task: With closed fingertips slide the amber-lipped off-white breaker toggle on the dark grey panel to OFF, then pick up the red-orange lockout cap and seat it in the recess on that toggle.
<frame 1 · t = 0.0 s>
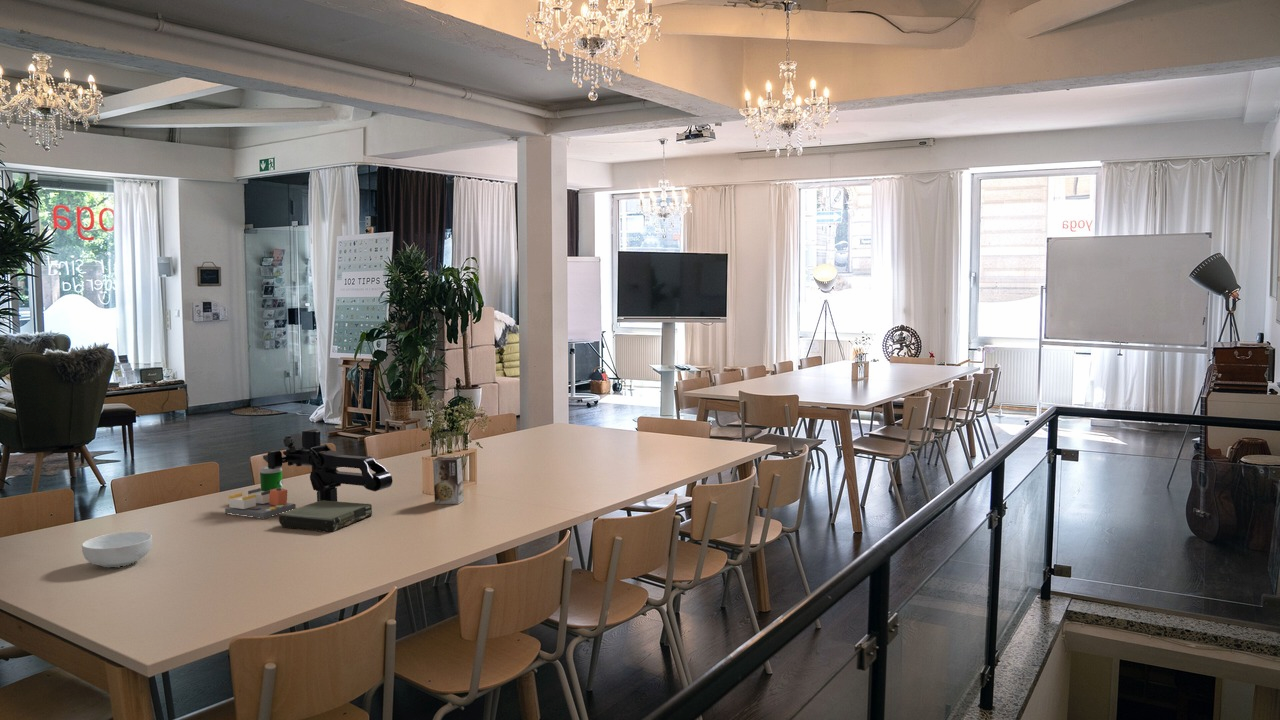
hand: (273, 454, 320), 17 cm above the table, tool horizontal, fingers open, 9 cm apart
coffee box: (449, 502, 313), on the table
cereal bowl: (118, 564, 245), on the table
breaker 1: (242, 500, 300), point 4 cm above the table, slide at 0.0 cm
breaker 2: (261, 495, 308), point 4 cm above the table, slide at 0.0 cm
soda can: (272, 499, 322), on the table
network switch: (326, 523, 288), on the table
lockout cap: (278, 503, 305), point 2 cm above the table, tilted 7°, touching panel
panel: (260, 511, 303), on the table
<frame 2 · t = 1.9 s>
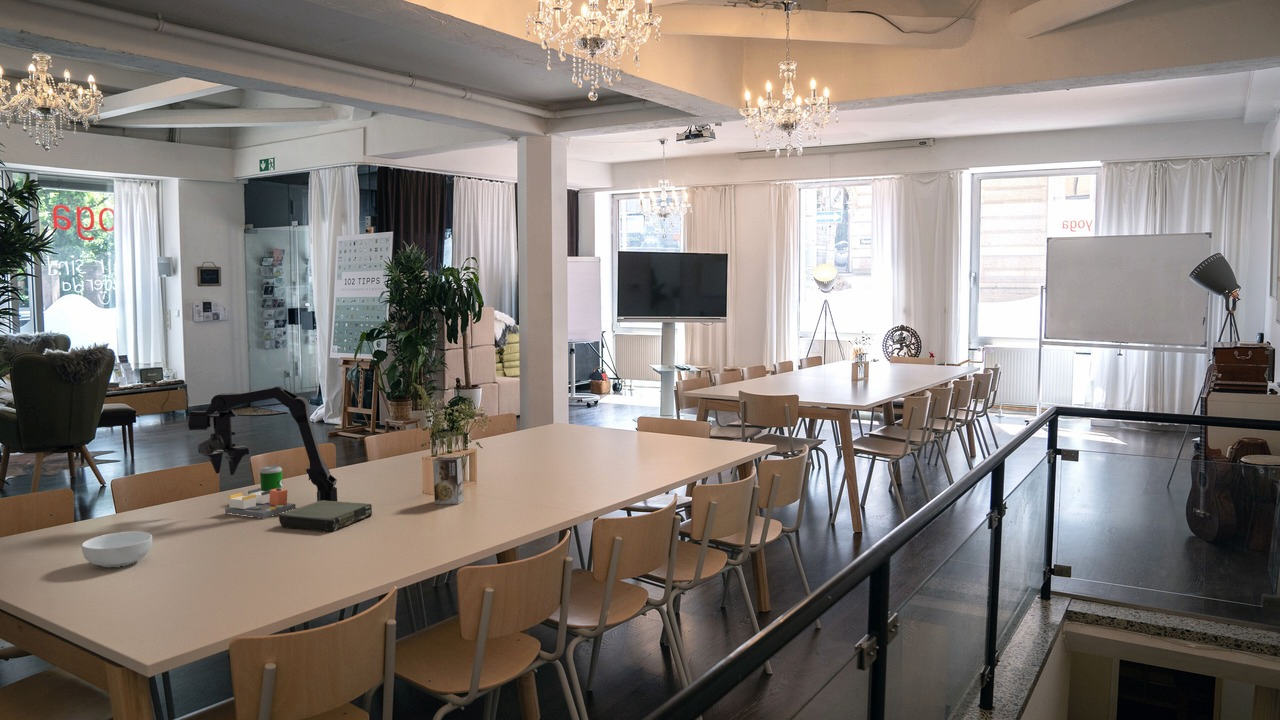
hand: (224, 474, 303), 13 cm above the table, tool pointing down, fingers open, 7 cm apart
nothing on the table moved.
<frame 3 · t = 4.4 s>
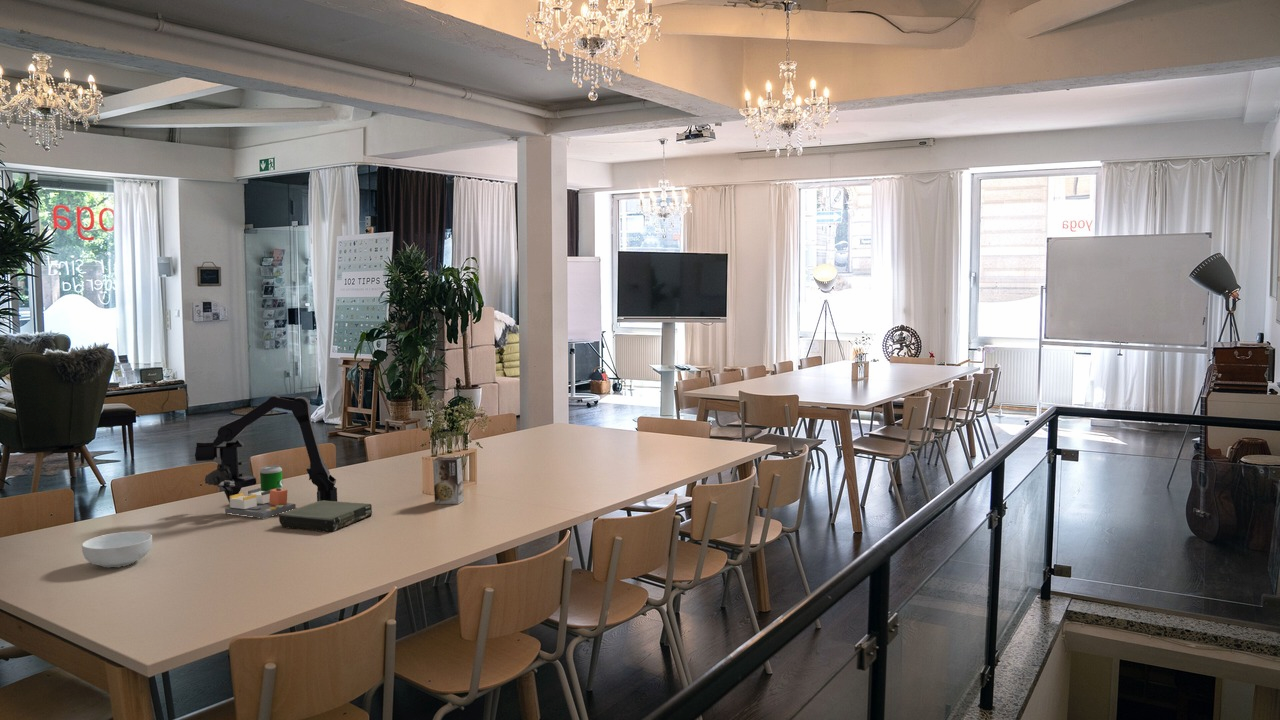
hand: (231, 504, 303), 3 cm above the table, tool pointing down, fingers closed
breaker 1: (243, 500, 300), point 4 cm above the table, slide at 0.4 cm, touching gripper
everything else where it was.
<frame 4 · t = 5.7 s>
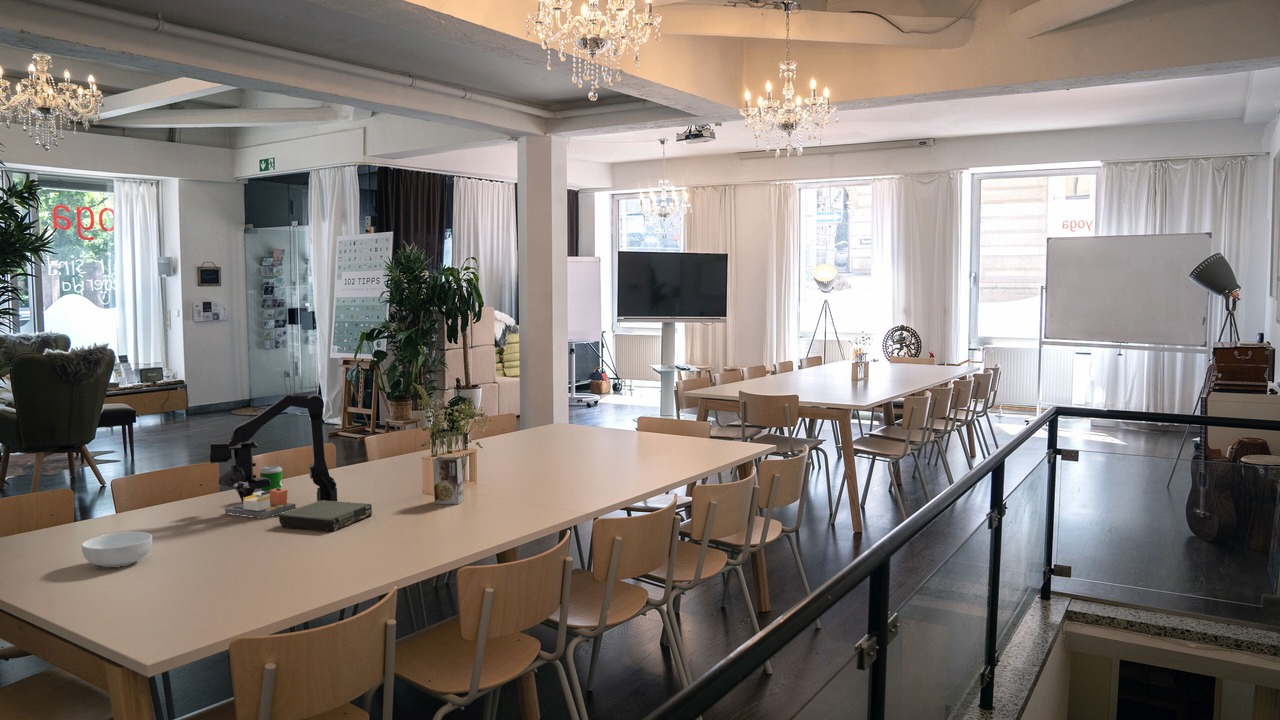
hand: (245, 505, 300), 3 cm above the table, tool pointing down, fingers closed
breaker 1: (256, 502, 298), point 4 cm above the table, slide at 6.8 cm, touching gripper, panel
everything else where it was.
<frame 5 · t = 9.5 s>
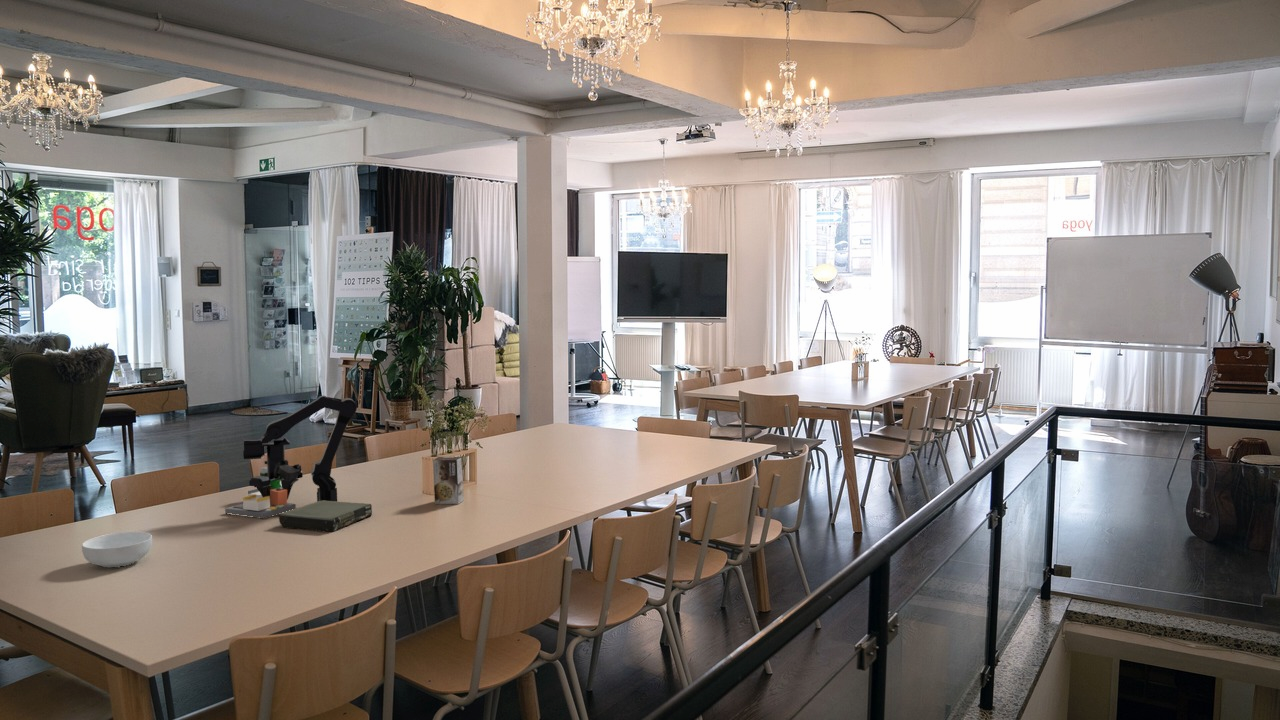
hand: (277, 502, 304), 3 cm above the table, tool pointing down, fingers open, 7 cm apart
breaker 1: (256, 502, 298), point 4 cm above the table, slide at 6.7 cm, touching gripper
everything else where it was.
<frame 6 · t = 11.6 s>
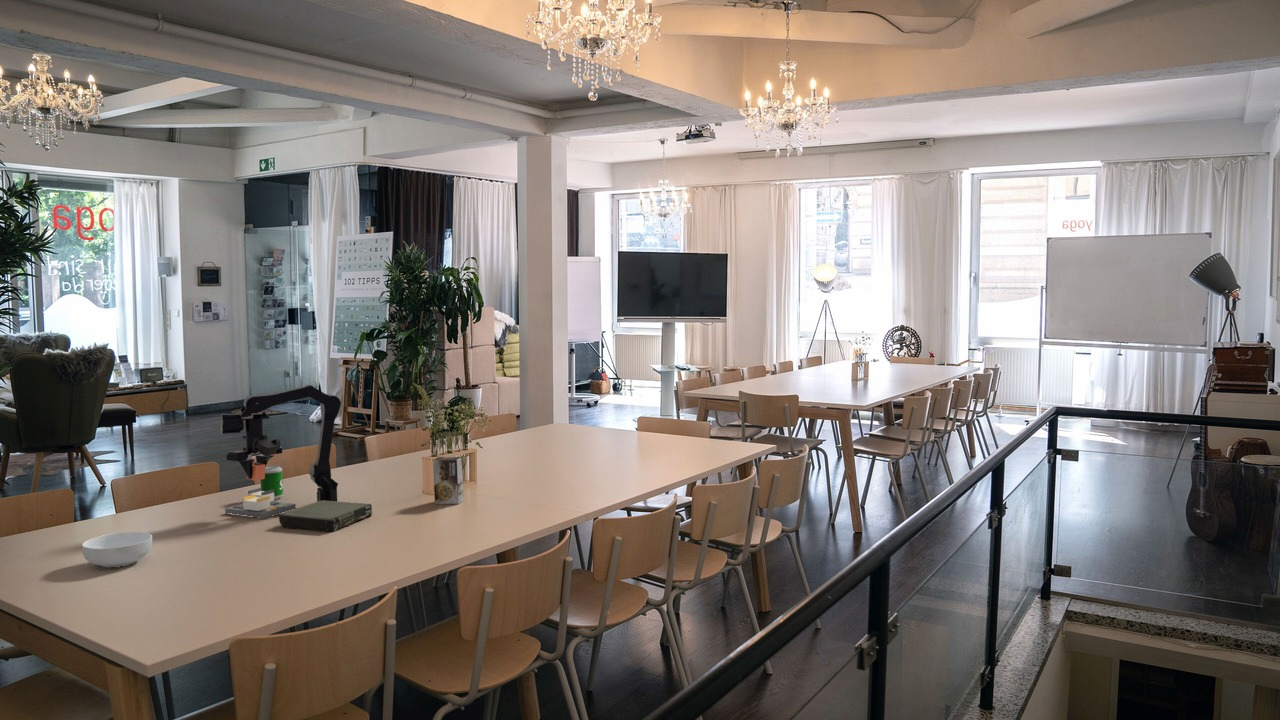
hand: (255, 477, 298), 13 cm above the table, tool pointing down, fingers closed on lockout cap, 4 cm apart
breaker 1: (256, 502, 298), point 4 cm above the table, slide at 6.8 cm
lockout cap: (255, 478, 298), point 13 cm above the table, tilted 8°, touching gripper
everything else where it was.
when the fingers open (7 cm above the table, at t = 13.0 s): lockout cap drops 1 cm, resting on breaker 1.
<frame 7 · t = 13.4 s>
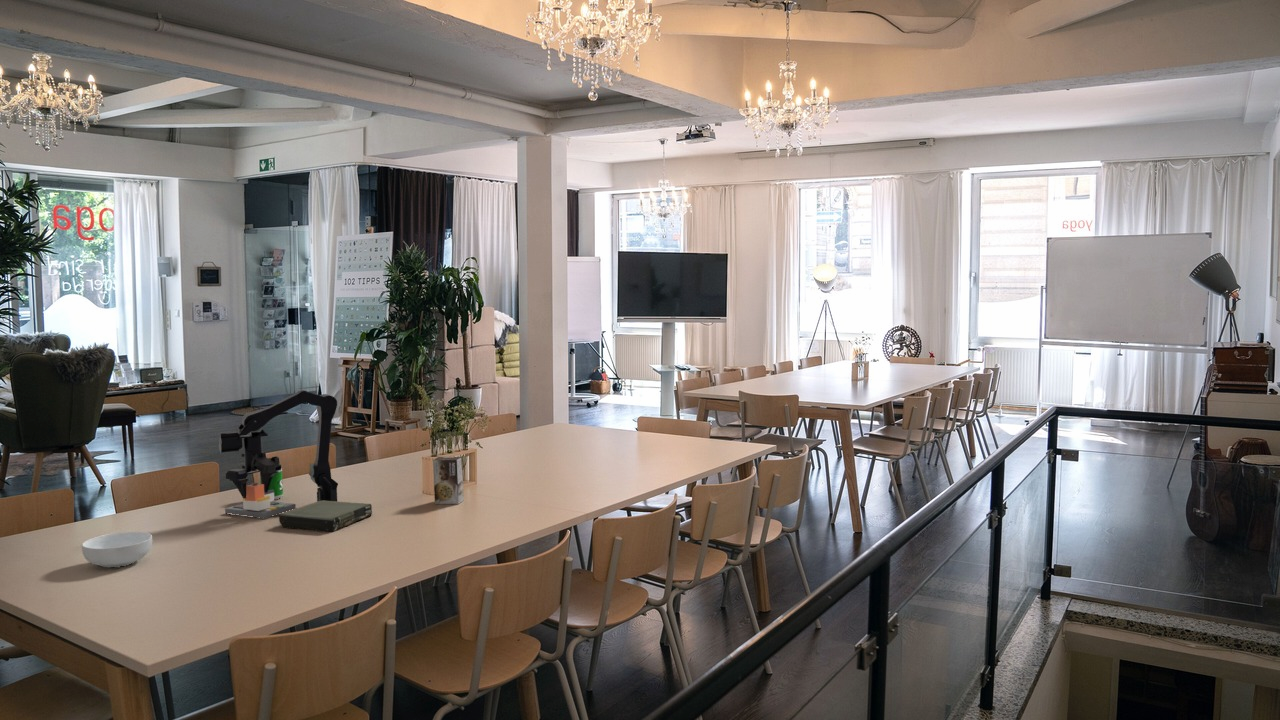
hand: (255, 495, 298), 7 cm above the table, tool pointing down, fingers open, 9 cm apart
breaker 1: (256, 502, 298), point 4 cm above the table, slide at 6.8 cm, touching lockout cap
lockout cap: (255, 499, 298), point 5 cm above the table, touching breaker 1
everything else where it was.
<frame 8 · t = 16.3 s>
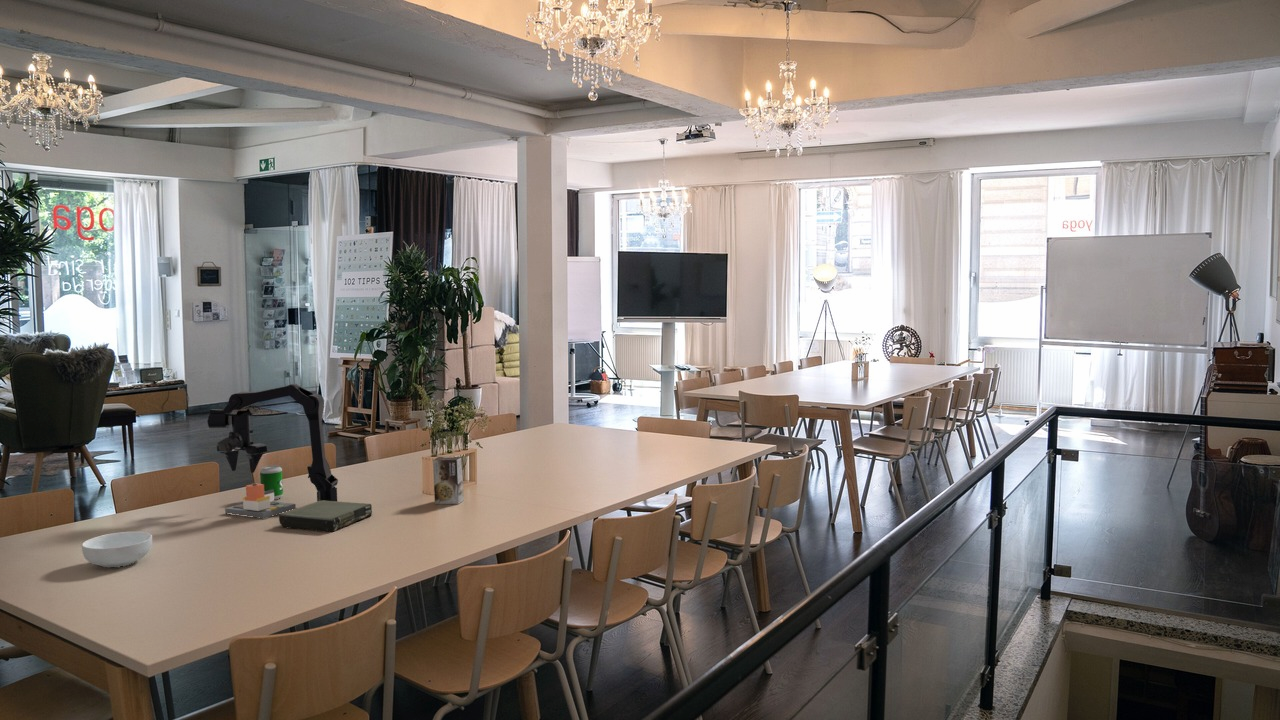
hand: (243, 471, 308), 13 cm above the table, tool pointing down, fingers open, 9 cm apart
nothing on the table moved.
at the end: breaker 1 slide at 6.8 cm; lockout cap 0.5 cm off-centre on the breaker 1, point 3.0 cm above the breaker 1's base; lockout cap tilted 0° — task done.
